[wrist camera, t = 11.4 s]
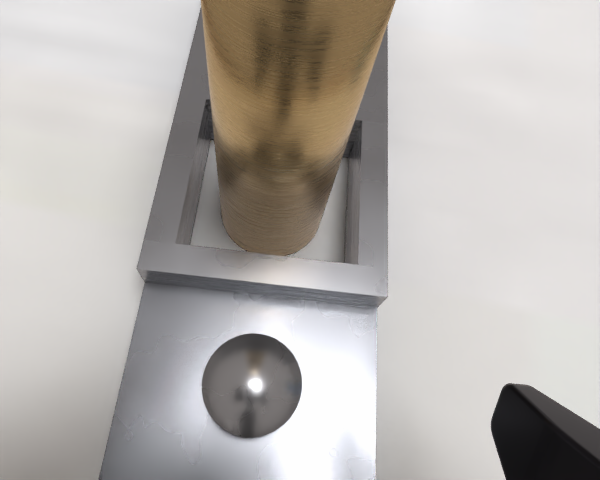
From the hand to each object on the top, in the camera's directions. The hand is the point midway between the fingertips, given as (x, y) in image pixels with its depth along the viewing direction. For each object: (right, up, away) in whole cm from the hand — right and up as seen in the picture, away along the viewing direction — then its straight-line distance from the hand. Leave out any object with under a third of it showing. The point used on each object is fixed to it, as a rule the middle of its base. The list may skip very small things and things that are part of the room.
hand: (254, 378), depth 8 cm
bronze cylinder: (0, +4, +10) cm, 11 cm away
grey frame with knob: (0, +4, +10) cm, 11 cm away
